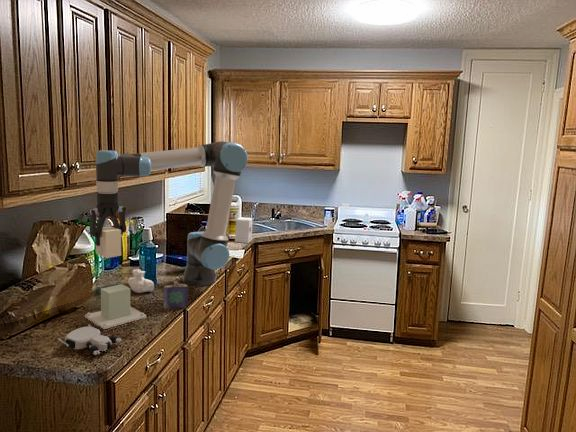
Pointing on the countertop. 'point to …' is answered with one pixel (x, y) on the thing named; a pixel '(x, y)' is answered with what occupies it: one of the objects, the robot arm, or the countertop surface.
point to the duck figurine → (140, 282)
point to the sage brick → (115, 302)
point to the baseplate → (107, 323)
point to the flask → (175, 296)
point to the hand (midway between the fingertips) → (108, 252)
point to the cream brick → (111, 242)
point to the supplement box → (243, 230)
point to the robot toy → (89, 340)
